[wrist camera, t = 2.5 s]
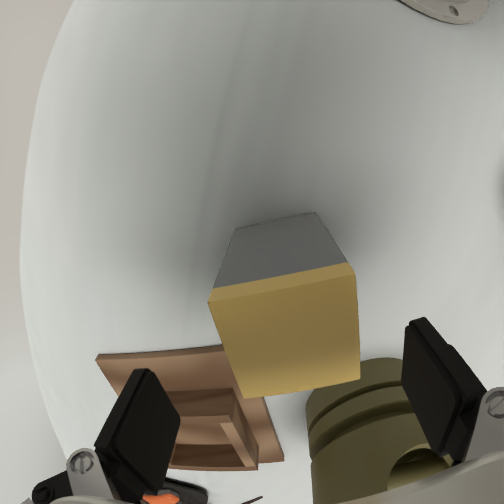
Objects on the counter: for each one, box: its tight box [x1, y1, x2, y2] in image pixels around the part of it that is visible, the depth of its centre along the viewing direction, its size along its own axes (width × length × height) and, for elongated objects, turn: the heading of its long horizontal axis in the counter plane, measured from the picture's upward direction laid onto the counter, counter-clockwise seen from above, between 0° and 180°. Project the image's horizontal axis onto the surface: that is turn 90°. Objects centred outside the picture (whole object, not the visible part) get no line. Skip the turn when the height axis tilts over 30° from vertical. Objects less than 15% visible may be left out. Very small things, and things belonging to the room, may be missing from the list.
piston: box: [306, 358, 453, 504], centre depth 18 cm, size 11×12×11 cm
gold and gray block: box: [208, 212, 360, 399], centre depth 14 cm, size 5×5×9 cm
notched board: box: [95, 345, 284, 471], centre depth 23 cm, size 18×14×4 cm
